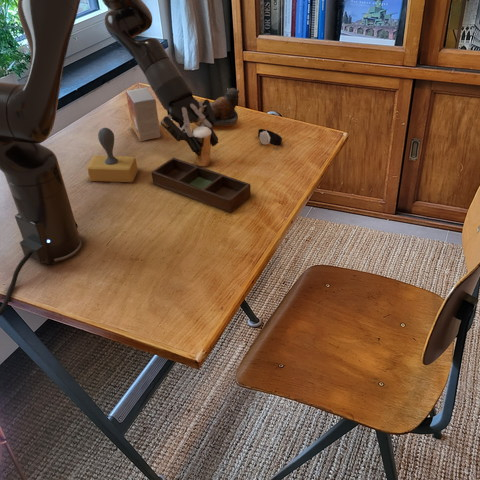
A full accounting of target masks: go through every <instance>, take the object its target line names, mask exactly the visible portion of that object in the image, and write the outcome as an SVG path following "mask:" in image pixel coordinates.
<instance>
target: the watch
mask: <svg viewBox="0 0 480 480" xmlns="http://www.w3.org/2000/svg"><path fill="white" fill-rule="evenodd" d="M257 137H258V138H259V141H260V143H261V144H262V145H272V146H276V147H279V146H282V142H283V137H282V136H281V135H280V134H278V133H276V132H274V131H271V130H269V129H265V128H259V129H258V131H257Z"/></svg>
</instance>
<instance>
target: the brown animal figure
mask: <svg viewBox="0 0 480 480" xmlns="http://www.w3.org/2000/svg"><path fill="white" fill-rule="evenodd" d="M239 94H240V89H239V88H235V87H230V88H229V87H227V89H226V92H225V94H224V96H219V97H218V98H216V99H215V100H214V101H212V102H210V105H211V108H212V111H213V114H214V117H215V119H216V122H215V123H214V124H213V125H212V127H229V126H234V125H237V124H238V120H239V115H238V112H237V111H236V109H235V108H236V107H237V105H238V104H239V98H240V95H239ZM199 111H200V112H201V113H202V114H203V111H201V109H200V108H199ZM203 115H204V114H203ZM198 120H199V118H198Z"/></svg>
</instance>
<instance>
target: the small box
mask: <svg viewBox="0 0 480 480" xmlns="http://www.w3.org/2000/svg"><path fill="white" fill-rule="evenodd" d="M125 95H126V101H127V105H128V111H129V112H128V113H129V117H130V122H131V127H132V130H133V131H134V133H135V135H136V136H137V138H138V140H139V142H143V141H149V140H153V139H158V138H161V137H162V136H161V130H160V122H159V114H158V108H157V101H156V98H155V96H153V94H152V93H151V91H150V90H149V88H148V87H146V86H145V87H140V88H135V89H134V88H133V89H128V90H125Z"/></svg>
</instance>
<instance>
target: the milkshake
mask: <svg viewBox="0 0 480 480" xmlns="http://www.w3.org/2000/svg"><path fill="white" fill-rule="evenodd" d="M204 121H205V119H204ZM191 132H192V137H193V136H194V137H195V139H196V140H197V142H198V144H199V145H200V147H201V149H202V151H201V152H200V153H198V154H196V153H195V152H194V155H195V162H196V165H197V166H200V167H207V166H210V165H211V158H212V157H211V155H212V154H211V153H212V151H211V150H212V145H211V130H210V129H209V128H208V127H204V124H203V123H202V127H199V126H196V127H194V128H193V129H192V130H191Z"/></svg>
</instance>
